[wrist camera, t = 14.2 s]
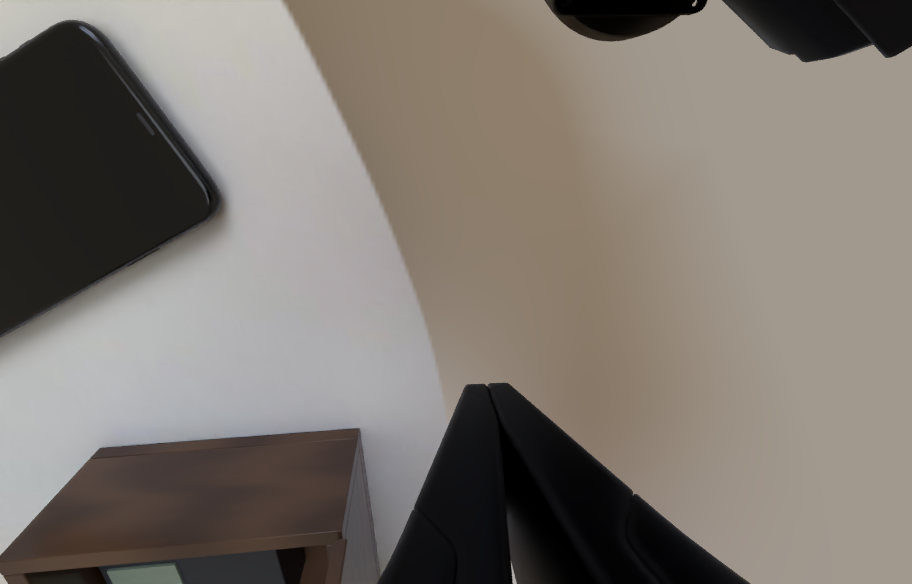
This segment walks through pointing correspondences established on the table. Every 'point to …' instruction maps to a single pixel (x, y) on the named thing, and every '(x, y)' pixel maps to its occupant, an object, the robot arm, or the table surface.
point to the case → (204, 507)
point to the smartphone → (84, 171)
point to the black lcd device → (214, 569)
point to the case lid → (340, 564)
